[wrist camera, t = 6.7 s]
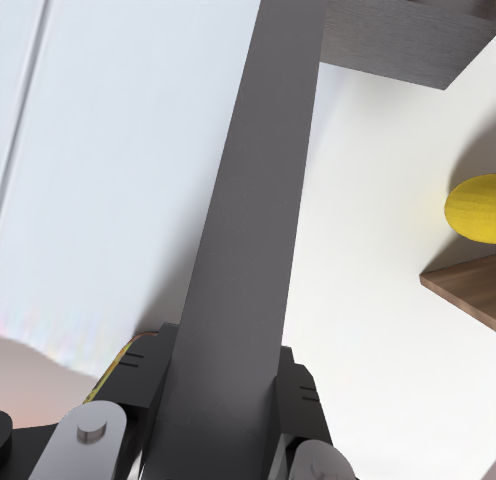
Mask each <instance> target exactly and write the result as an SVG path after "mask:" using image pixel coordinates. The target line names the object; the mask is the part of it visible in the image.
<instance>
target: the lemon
mask: <svg viewBox="0 0 496 480" xmlns="http://www.w3.org/2000/svg"><path fill="white" fill-rule="evenodd" d="M445 216H446V220H447V221H448V223H449V225H450V226H451V227H452V228H453V229H454V230H455V231H456V232H457V233H459V234H460V235H462V236H464V237H466V238H469V239H471V240H474V241H478V242H484V243H490V244H496V174H485V175H480V176H476V177H473V178H470V179H468V180H466V181H464V182H462V183H461V184H459V185H458V186H457V187H455V188H454V189H453V190H452V192H451V193H450V194H449V196H448V198H447V200H446V203H445Z"/></svg>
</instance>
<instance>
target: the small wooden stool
mask: <svg viewBox="0 0 496 480" xmlns="http://www.w3.org/2000/svg"><path fill="white" fill-rule="evenodd" d="M419 276H420V282H421V285H423V286H425V287H426V288H428V289H429V290H431V291H433V292H434V293H436V294H437V295H439V296H440V297H442V298H444V299H445V300H447V301H448V302H450V303H451V304H453V305H455V306H456V307H458V308H459V309H461V310H462V311H464V312H466V313H467V314H469V315H470V316H472V317H474V318H475V319H477V320H478V321H480V322H481V323H483V324H485V325H486V326H488V327H489V328H491V329H492V330H494V331H496V254H495V255H491V256H488V257H484V258H480V259H477V260H473V261H469V262H466V263H462V264H458V265H455V266H451V267H447V268H444V269H440V270H436V271H433V272H429V273H425V274H422V275H419Z"/></svg>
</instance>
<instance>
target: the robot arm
mask: <svg viewBox="0 0 496 480" xmlns="http://www.w3.org/2000/svg"><path fill="white" fill-rule="evenodd" d="M178 329H179V325H176V324H171V323H166V322H165V323H164V324H163V325H162V327H161V329H160V330H159V332H158V334H157V336H153V335H148V334H144V335H143V336H141V337H139V338H138V339H136V340H135V341H133V342H132V343H131V345H130V346H129V348H128V349H127V351H126V352H125V355H123V356H122V358H121V359H120V361H119V363H118V364H117V365H116V366H115V368H114V369H113V370H112V372H111V373H110V375H109V376H108V378H107V379H106V380H105V382H104V383H103V385H102V386H101V388H100V389H99V390H98V392H97V393H96V395H95V396H94V398H93V399H92V400H91V402H88V403H85V404H82V405H80V406H78V407H76V408H74V409H73V410H71V411H70V412H69V413H68V414H66V415H65V416H64V417H63V418H62V420H61V421H60V422H59V423H56V424H52V425H46V426H38V427H30V428H20V429H12V428H13V425H12V419H11V417H10V416H9V415H8V414H7V413H5V412H3V411H0V480H139V477H140V474H141V471H142V469H143V466H144V464H145V461H146V457H147V453H148V449H149V445H150V441H151V437H152V433H153V429H154V425H155V421H156V417H157V413H158V409H159V405H160V401H161V397H162V393H163V389H164V385H165V381H166V377H167V373H168V369H169V365H170V361H171V357H172V353H173V349H174V345H175V341H176V337H177V333H178ZM316 390H317V389H316V386H315V382H314V379H313V376H312V375H311V374H310V372H309V371H308V370H307V369H306V367H305V366H304V365H301V364H296V363H294V358H293V354H292V349H291V347H287V346H282V345H281V349H280V357H279V364H278V371H277V376H275V379H274V387H273V394H272V401H271V408H270V415H269V422H268V429H267V436H266V443H265V451H264V458H263V465H262V472H261V479H260V480H359V479H358V478H356V477H355V474H354V471H353V469H352V467H351V465H350V463H349V462H348V461H347V459H346V458H345V457H344V456H343V455H342V453H340V452H339V451H338V450H337V449H336V448H334V447H333V443H332V440H331V436H330V433H329V430H328V426H327V423H326V420H325V416H324V413H323V409H322V406H321V403H320V399H319V396H318V393H317V392H316Z"/></svg>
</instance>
